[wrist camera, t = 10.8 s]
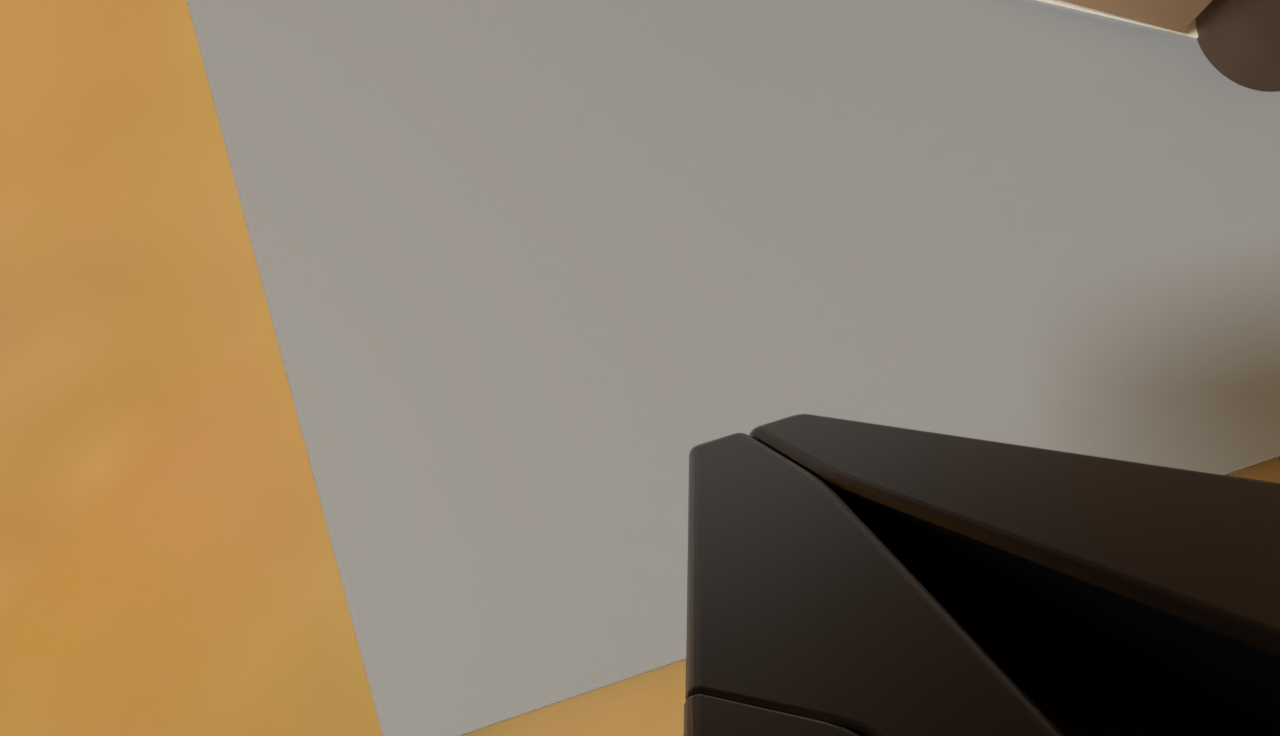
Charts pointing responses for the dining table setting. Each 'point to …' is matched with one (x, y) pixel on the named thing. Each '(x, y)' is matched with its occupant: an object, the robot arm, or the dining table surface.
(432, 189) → the card
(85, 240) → the dining table surface
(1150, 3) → the fence panel
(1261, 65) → the fence fixed
